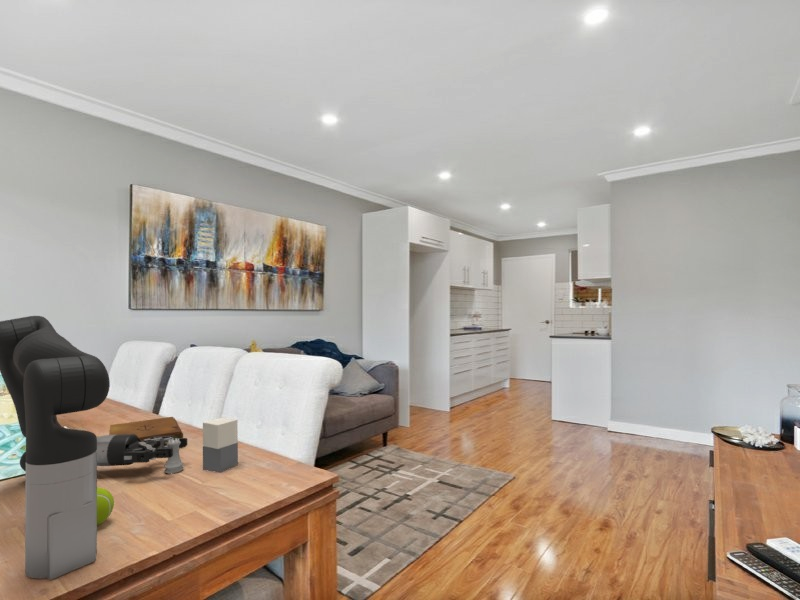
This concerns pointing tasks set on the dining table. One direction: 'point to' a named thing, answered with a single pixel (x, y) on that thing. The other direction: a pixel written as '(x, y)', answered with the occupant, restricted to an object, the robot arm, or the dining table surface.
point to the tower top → (220, 433)
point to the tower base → (220, 458)
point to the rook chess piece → (174, 458)
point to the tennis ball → (104, 504)
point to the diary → (149, 428)
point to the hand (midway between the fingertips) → (180, 447)
